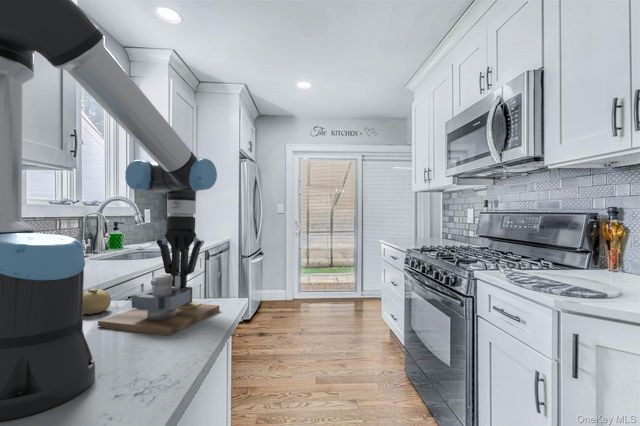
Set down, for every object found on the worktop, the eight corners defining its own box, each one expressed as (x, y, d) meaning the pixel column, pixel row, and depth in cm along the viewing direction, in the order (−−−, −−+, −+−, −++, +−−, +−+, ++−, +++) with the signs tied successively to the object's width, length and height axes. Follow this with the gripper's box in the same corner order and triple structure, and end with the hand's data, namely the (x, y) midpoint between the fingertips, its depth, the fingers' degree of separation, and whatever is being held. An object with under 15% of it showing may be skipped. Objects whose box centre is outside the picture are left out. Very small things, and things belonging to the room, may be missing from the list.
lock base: (168, 335, 72) (169, 283, 72) (97, 327, 77) (98, 278, 77) (219, 310, 91) (219, 269, 91) (159, 305, 96) (160, 266, 97)
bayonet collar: (167, 320, 75) (167, 298, 75) (127, 317, 76) (128, 296, 77) (205, 301, 91) (205, 283, 92) (172, 299, 93) (172, 282, 93)
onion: (67, 316, 86) (68, 289, 86) (95, 308, 94) (95, 283, 94) (92, 318, 84) (92, 291, 84) (117, 310, 92) (118, 285, 92)
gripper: (152, 215, 89) (149, 301, 88) (198, 216, 89) (195, 302, 88) (165, 215, 96) (163, 294, 96) (208, 216, 96) (206, 296, 96)
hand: (178, 298), depth 92 cm, fingers closed
